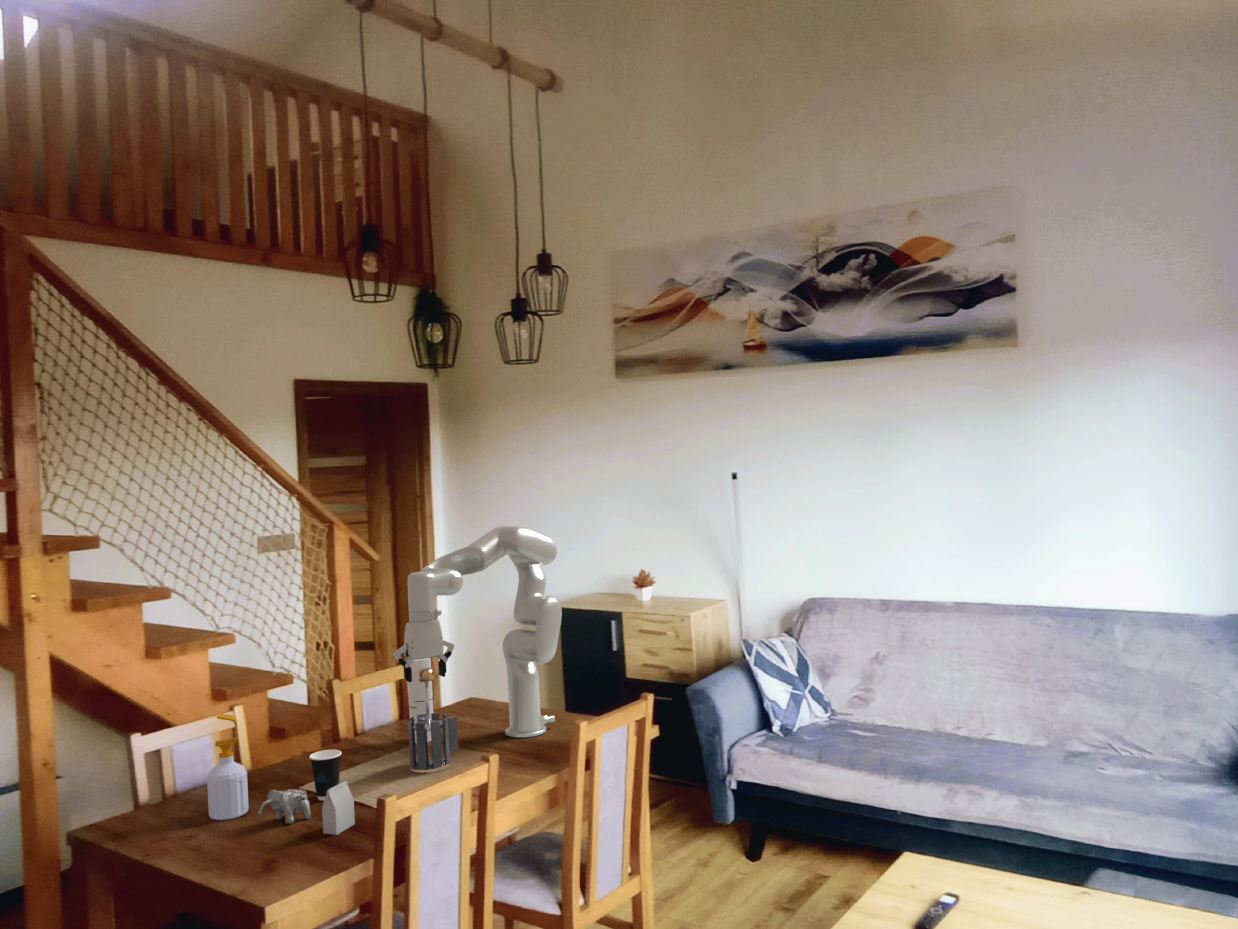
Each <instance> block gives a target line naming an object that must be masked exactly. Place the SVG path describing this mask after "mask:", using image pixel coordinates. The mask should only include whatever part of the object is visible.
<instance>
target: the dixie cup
mask: <svg viewBox="0 0 1238 929" xmlns="http://www.w3.org/2000/svg"><path fill="white" fill-rule="evenodd" d="M341 756H342V751H341V750H338V749H324V750H319V751H315V752H313V753H310V755H309V756H308V757H309V759H310V763H311V769H312V770H311V771H312V777H313V782H314V783H313V784H314V789H315V794H316V796H317V799H318V800H319V801H325V798H326V794H327V790H329V789H330V788H332V787H334V786H336V785H338V784H340V773H341V772H340V770H341Z"/></svg>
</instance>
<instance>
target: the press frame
mask: <svg viewBox="0 0 1238 929" xmlns="http://www.w3.org/2000/svg"><path fill="white" fill-rule="evenodd" d="M431 719H432V720H441V712H433V713H431ZM421 721H426V714H421V715H417V722H421ZM442 721H443V727H442V728H440V721H435V722H430V723H431V742H430V743H431V757H429V751H428V750H429V749H428V748H429V747H428V743H427V731H425V723H416V736H417V744H415V730H414V729H413V725H414V717H411V718H410V717H409V718H408V719H407V728H408V729H407V730H408V731H407V732H408V747H409V748H408V751H409V752H408V754H409V770H410V769H413V770H429V769H435V768H439V767H442V766H443V765H444V764H443V762H445V765H447V764H450V762H451V763H452V759H451V751H452V752H453V751H456V750H459V734H458V733H459V730H458V716H455V715H452V716H449V715H448V714H446V713H442ZM442 730H443V731H442ZM442 733H443V735H442ZM442 736H443V745H442ZM442 746H443V747H442ZM416 749H417V750H416ZM416 751H417V752H416ZM443 751H444V753H443ZM416 753H417V754H416ZM443 754H444V757H443ZM444 759H445V760H444ZM442 764H443V765H442Z"/></svg>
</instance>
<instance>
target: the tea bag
mask: <svg viewBox="0 0 1238 929" xmlns="http://www.w3.org/2000/svg"><path fill="white" fill-rule="evenodd" d="M354 799H355V798H354V796H353V794H352V792H351V790H350V787H349V785H348V781H346V780H344V781H342V782H339V784H338V785H336V786H334V787H332V788H330V789H329V790H327V794H326V798H325V800H323V804H322V807H321V813H322V833H323V834H325V835H326V834H328V835H334V836H336V835H337V836H338V835H339V834H340V833H342V832H344V831H346V830H347V829H349V828H350V827H352V826H354V825H355V824H356V821H355V816H356V815H355V802H354V801H355V800H354Z"/></svg>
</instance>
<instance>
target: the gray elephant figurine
mask: <svg viewBox="0 0 1238 929" xmlns="http://www.w3.org/2000/svg"><path fill="white" fill-rule="evenodd" d="M307 793H308V792H307V791H305V790H303V789H294V788H293V789H291V788H288V789H287V790H276V789H273V788H272V789H269V791H268V792H267V796H266V798H267V800H265V801H263V802H262V803H261V804H260V807H259V810H258V811H257V815H258V816H259V817H261V815H262V812H263V808H265V806H269V805H270V806H271V810H272V811H274V812H275V818H276V820H281V819H282V818H283V815H284V816H285V820H284V822H285V824H288V825H291V824H293V823H294V822H295V817H294V814H298V812H299V813H300V812H301V811H302V812H303V816H304V819H306V820H309V819H311V809H310V808H311V807H310V800H308V794H307Z"/></svg>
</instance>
